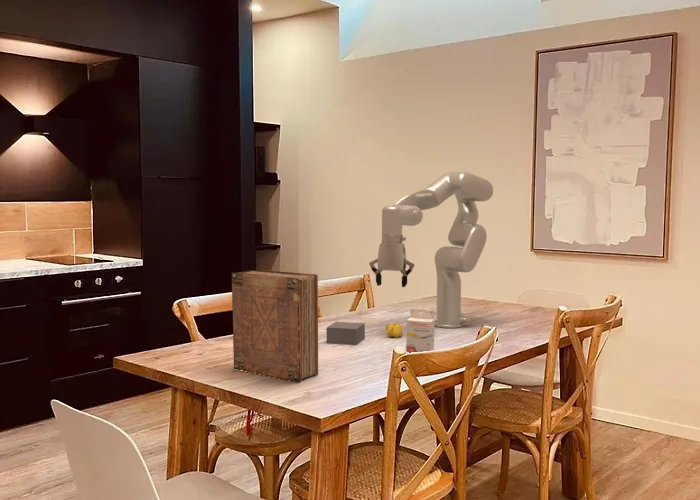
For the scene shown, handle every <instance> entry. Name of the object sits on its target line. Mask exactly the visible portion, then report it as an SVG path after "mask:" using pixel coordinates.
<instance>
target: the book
mask: <svg viewBox="0 0 700 500" xmlns="http://www.w3.org/2000/svg"><path fill="white" fill-rule="evenodd" d="M318 281H319V275H318V273H317V274H316V273H303V272H292V271H291V272H290V271H280V270H269V269H268V270H266V269H265V270H264V269H255V268H254V269H253V268H252V269H246V270H241V271H239V270H238V271H234V272H232V273H231V302H232V343H233V347H232V349H233V351H232V352H233V370H234V369H238V370H243V371H247V372H246V373H248V372H251V373H250V374H253V373H256V374H255V375H258V374H261V375H260V376H263V375H265V377H268V376H270V377H269V378H273V377H275V378H274V379H278V378H280V379H279V380H283V379H285V380H284V381H288V380H290V381H289V382H293V381H294V383H301V382H302V380H303V379H306V378H309V377H311V376H318V375H319V282H318ZM243 371H242V372H243Z"/></svg>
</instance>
